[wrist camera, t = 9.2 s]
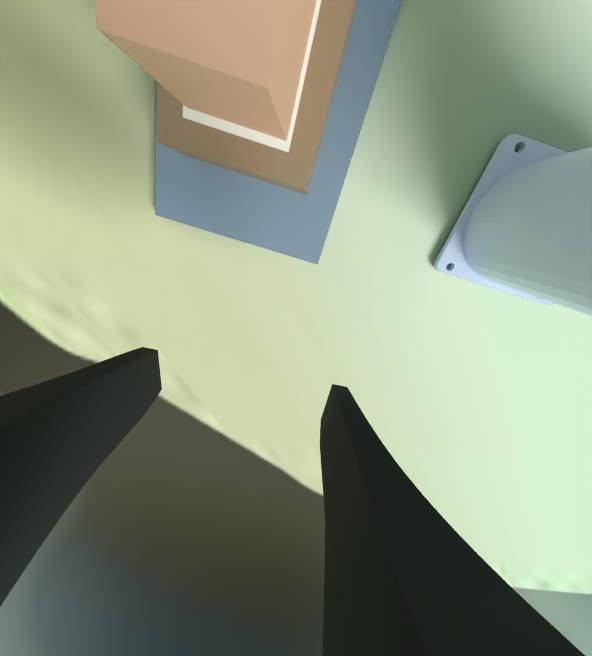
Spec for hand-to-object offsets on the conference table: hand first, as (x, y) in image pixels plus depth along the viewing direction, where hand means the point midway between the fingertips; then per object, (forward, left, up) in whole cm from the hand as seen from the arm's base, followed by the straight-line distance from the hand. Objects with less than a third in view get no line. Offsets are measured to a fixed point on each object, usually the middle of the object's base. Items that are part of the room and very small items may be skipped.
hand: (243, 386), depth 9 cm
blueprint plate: (+4, -12, -10) cm, 16 cm away
